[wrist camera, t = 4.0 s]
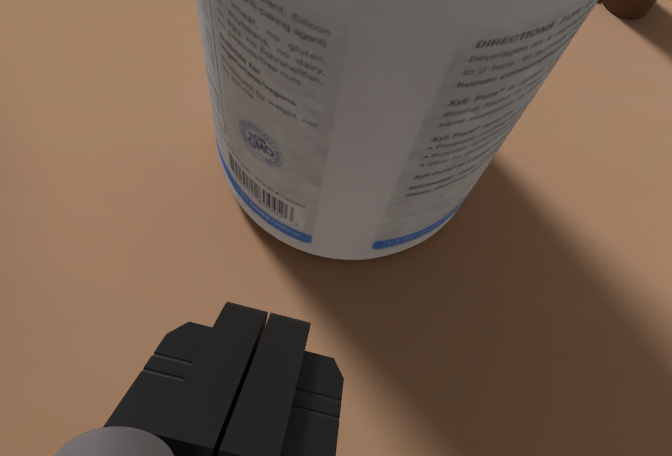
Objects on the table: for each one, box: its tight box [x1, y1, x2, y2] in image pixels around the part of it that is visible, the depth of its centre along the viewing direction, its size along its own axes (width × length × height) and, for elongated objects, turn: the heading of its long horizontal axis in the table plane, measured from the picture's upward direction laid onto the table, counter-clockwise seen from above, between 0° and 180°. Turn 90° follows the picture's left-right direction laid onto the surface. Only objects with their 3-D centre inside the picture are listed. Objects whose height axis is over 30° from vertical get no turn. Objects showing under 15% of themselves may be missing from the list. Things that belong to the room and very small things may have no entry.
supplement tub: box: [196, 0, 598, 260], centre depth 16 cm, size 10×10×15 cm
